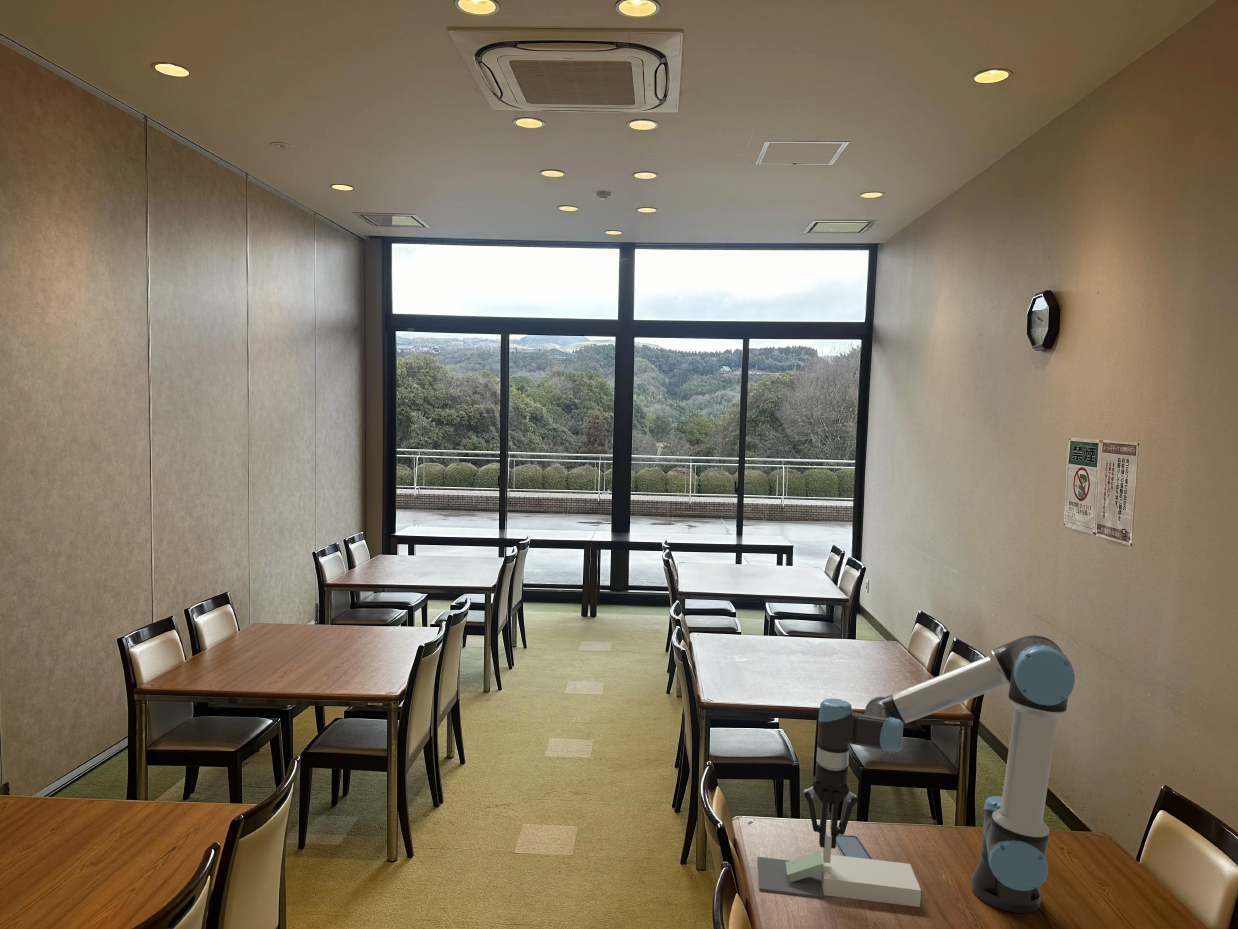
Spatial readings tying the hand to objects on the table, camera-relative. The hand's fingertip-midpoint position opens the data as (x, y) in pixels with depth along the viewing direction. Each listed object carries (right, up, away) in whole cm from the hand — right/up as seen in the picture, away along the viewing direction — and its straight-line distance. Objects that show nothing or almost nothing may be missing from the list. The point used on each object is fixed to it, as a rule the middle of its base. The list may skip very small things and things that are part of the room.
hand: (826, 860), depth 198 cm
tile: (-5, -3, +1) cm, 5 cm away
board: (+10, -6, -1) cm, 11 cm away
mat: (-9, -5, +1) cm, 10 cm away
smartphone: (+11, -6, +17) cm, 21 cm away
